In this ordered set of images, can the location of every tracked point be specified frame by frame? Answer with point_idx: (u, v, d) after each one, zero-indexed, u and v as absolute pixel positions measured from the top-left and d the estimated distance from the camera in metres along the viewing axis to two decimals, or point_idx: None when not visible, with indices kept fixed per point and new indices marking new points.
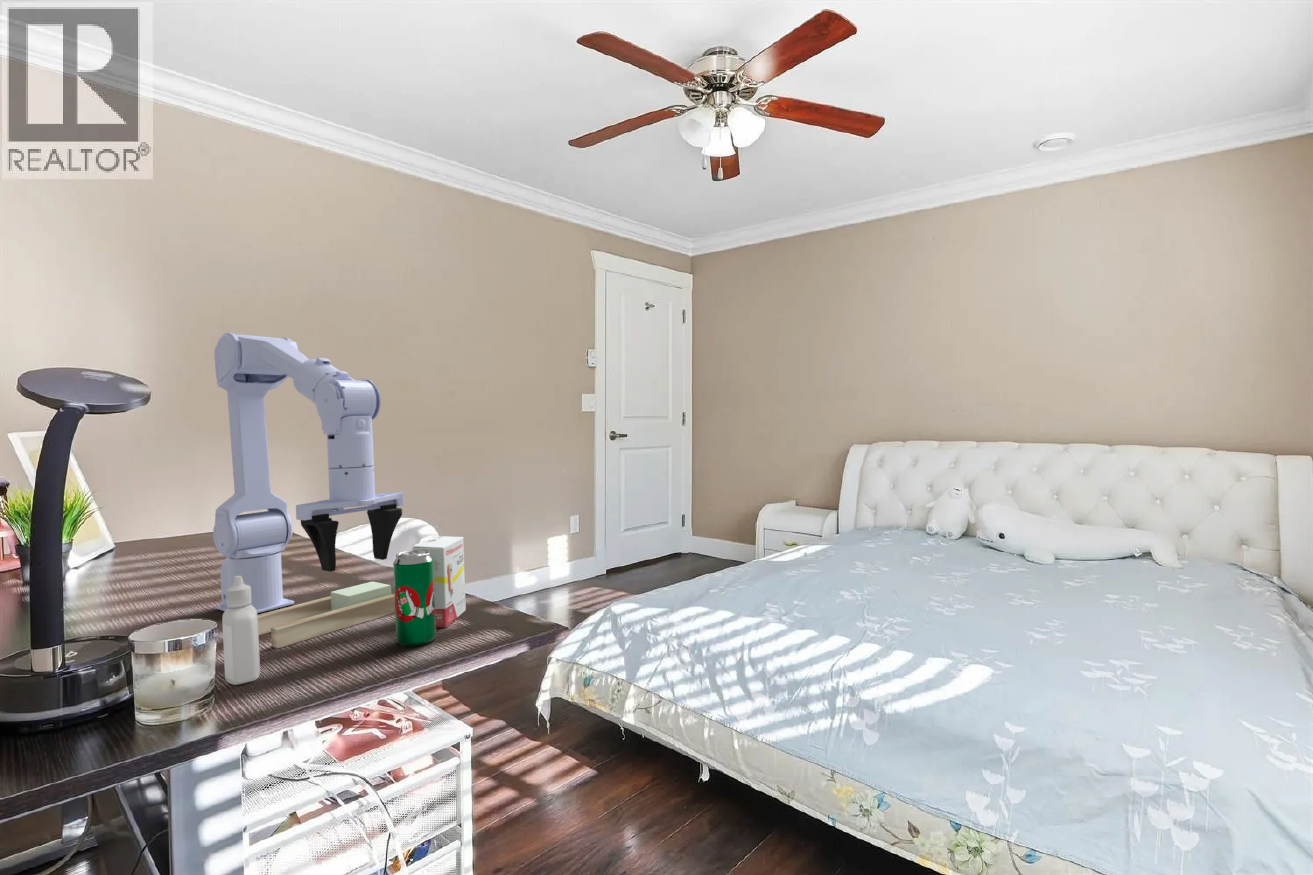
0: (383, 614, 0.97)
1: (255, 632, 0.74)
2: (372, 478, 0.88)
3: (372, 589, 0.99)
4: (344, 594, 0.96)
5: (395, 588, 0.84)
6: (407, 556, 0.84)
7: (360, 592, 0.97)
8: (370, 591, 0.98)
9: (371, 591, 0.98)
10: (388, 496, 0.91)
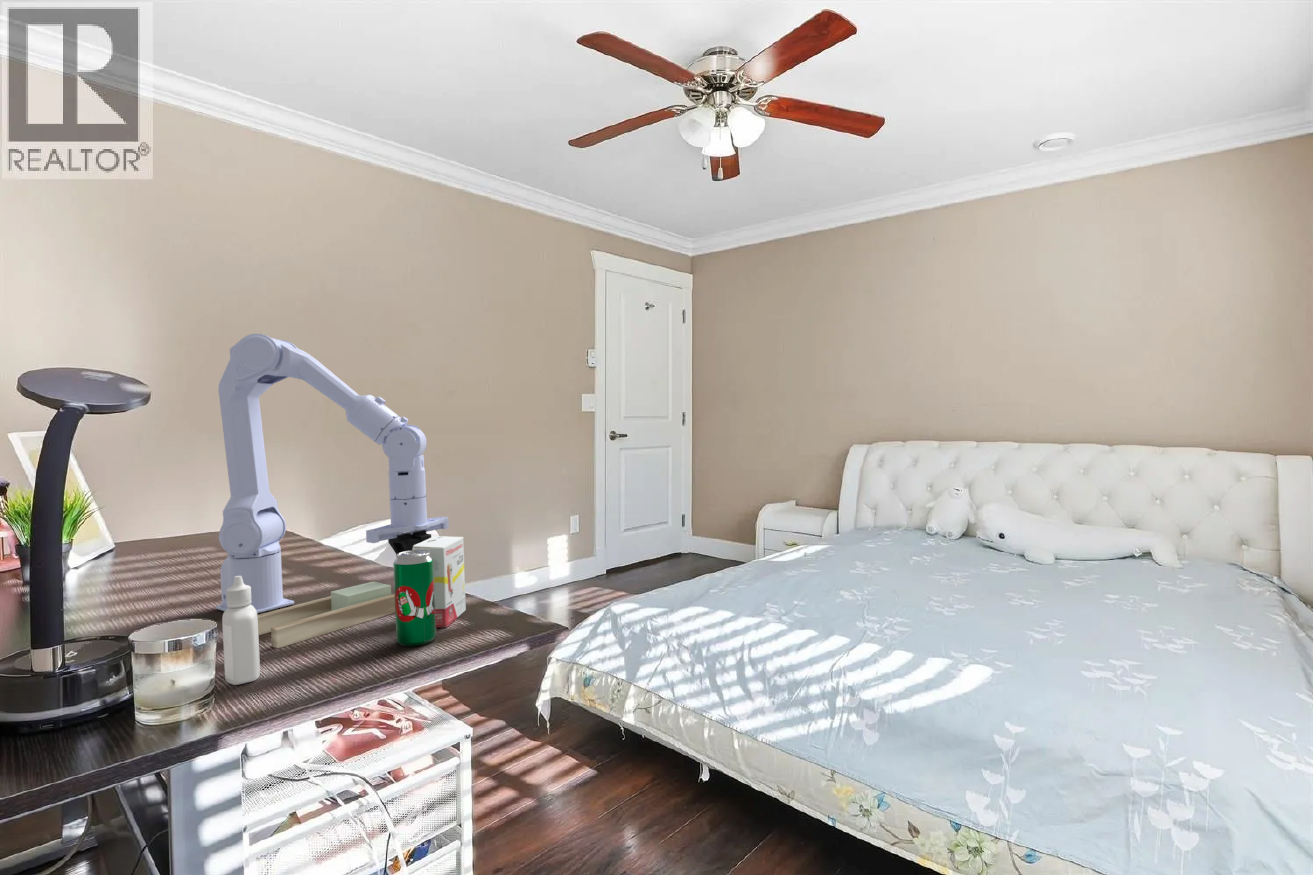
0: (383, 614, 0.97)
1: (255, 632, 0.74)
2: (425, 506, 1.07)
3: (372, 589, 0.99)
4: (343, 594, 0.96)
5: (395, 588, 0.84)
6: (407, 556, 0.84)
7: (359, 592, 0.97)
8: (369, 591, 0.98)
9: (370, 591, 0.98)
10: (437, 521, 1.09)
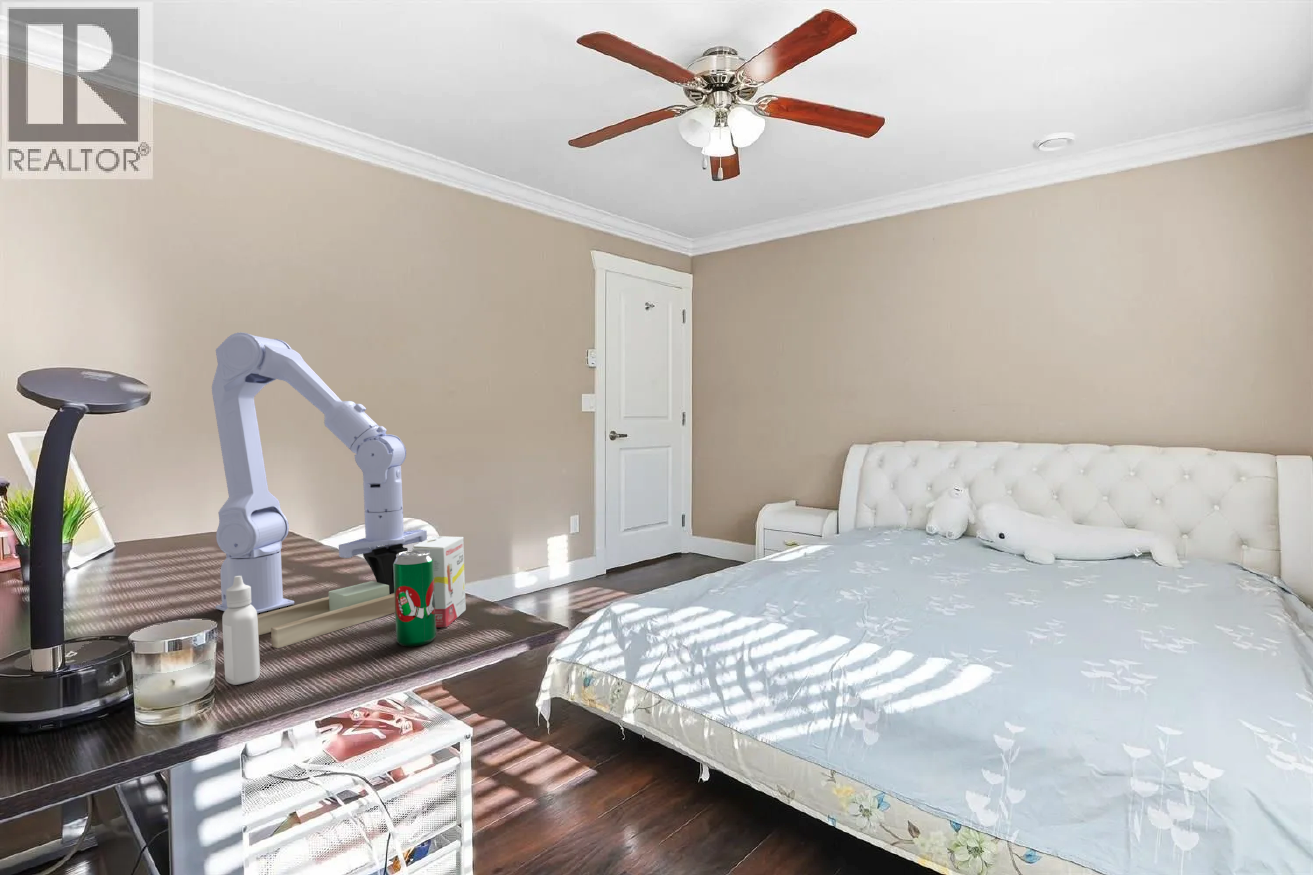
0: (383, 614, 0.97)
1: (255, 632, 0.74)
2: (402, 519, 1.03)
3: (369, 589, 0.98)
4: (341, 594, 0.96)
5: (395, 588, 0.84)
6: (407, 556, 0.84)
7: (357, 592, 0.97)
8: (367, 591, 0.98)
9: (368, 591, 0.98)
10: (414, 534, 1.06)
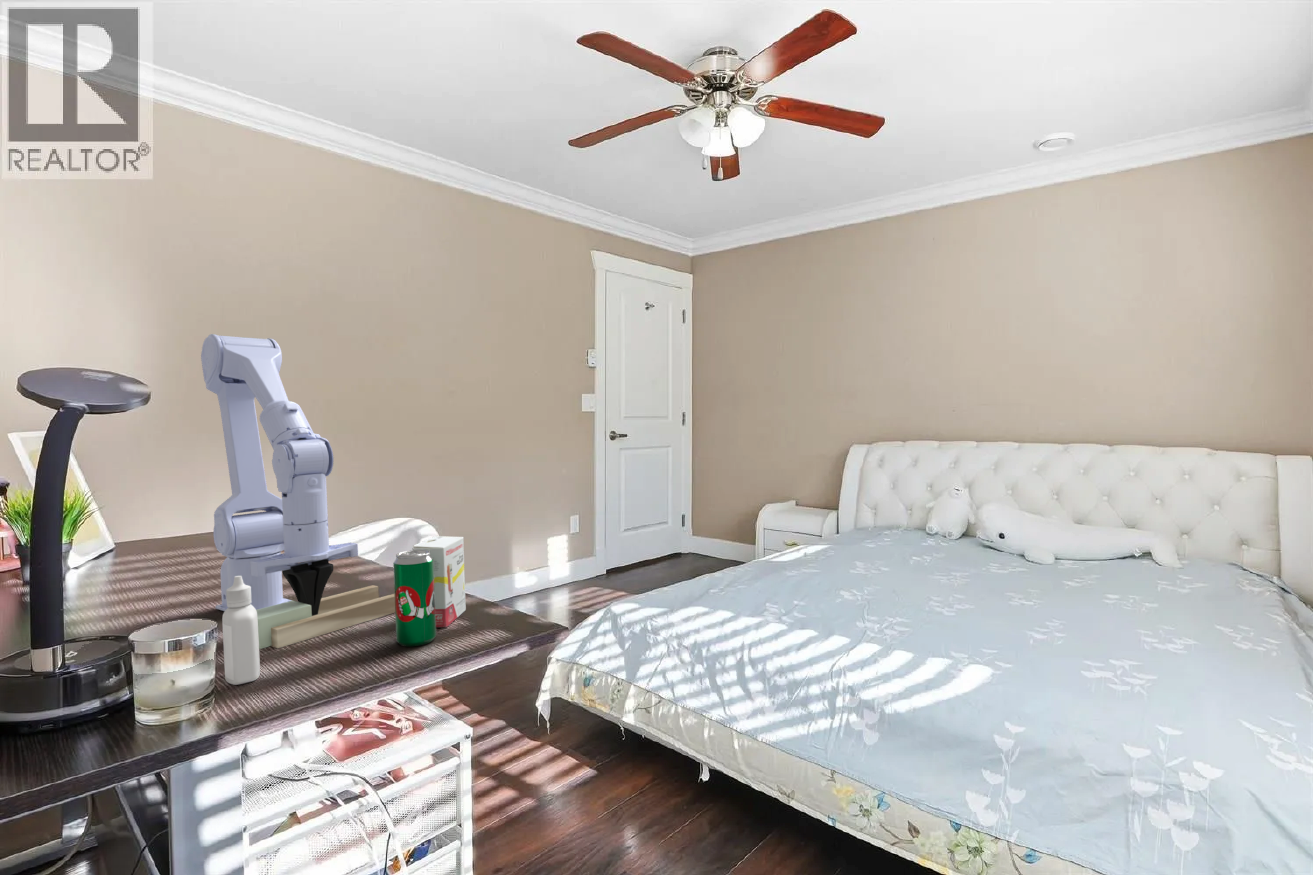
0: (383, 614, 0.97)
1: (255, 632, 0.74)
2: (326, 532, 0.92)
3: (288, 610, 0.88)
4: None
5: (395, 588, 0.84)
6: (407, 556, 0.84)
7: (273, 614, 0.86)
8: (285, 613, 0.87)
9: (286, 612, 0.87)
10: (342, 548, 0.95)
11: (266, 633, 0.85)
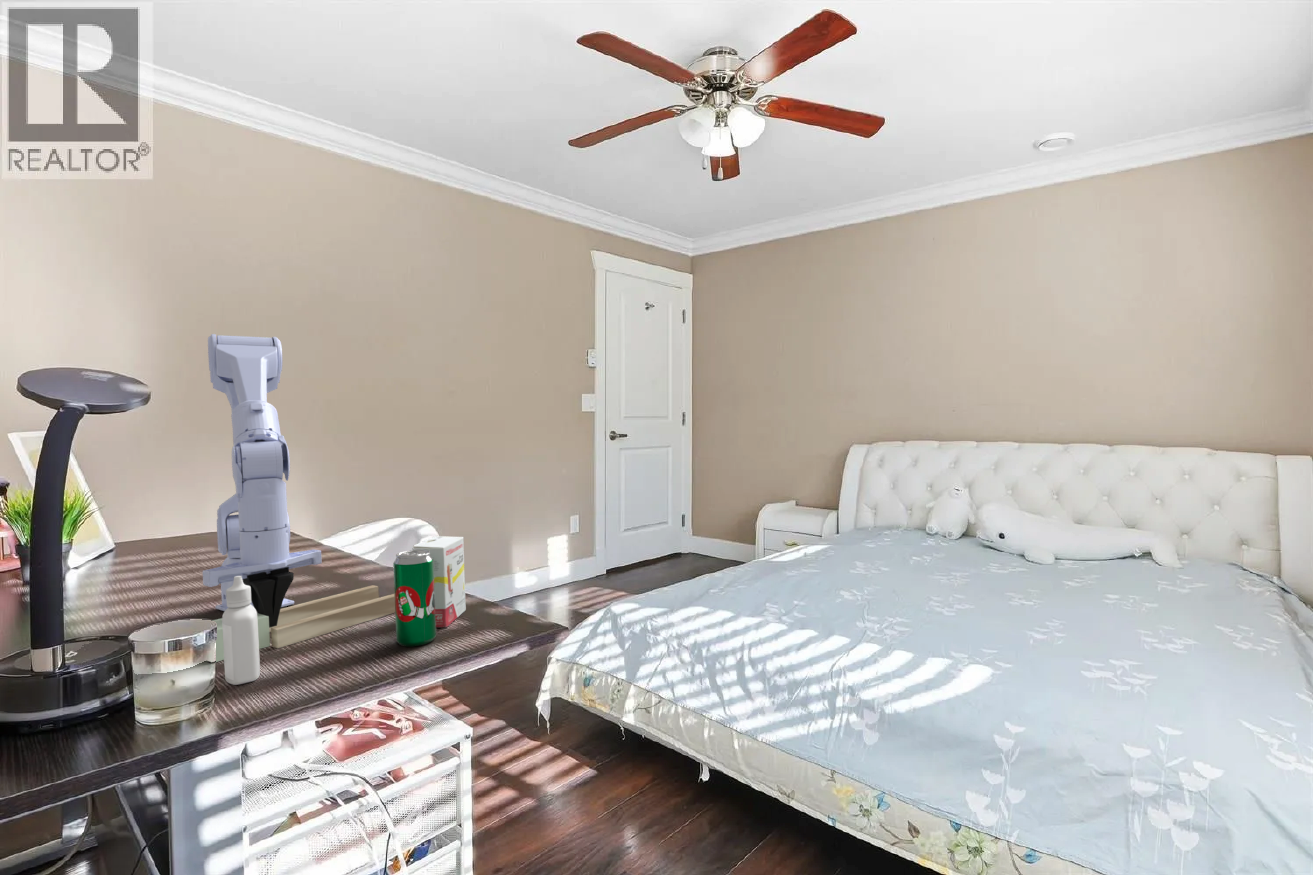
0: (383, 614, 0.97)
1: (255, 632, 0.74)
2: (285, 539, 0.88)
3: None
4: None
5: (395, 588, 0.84)
6: (407, 556, 0.84)
7: None
8: None
9: None
10: (304, 556, 0.90)
11: (218, 647, 0.80)
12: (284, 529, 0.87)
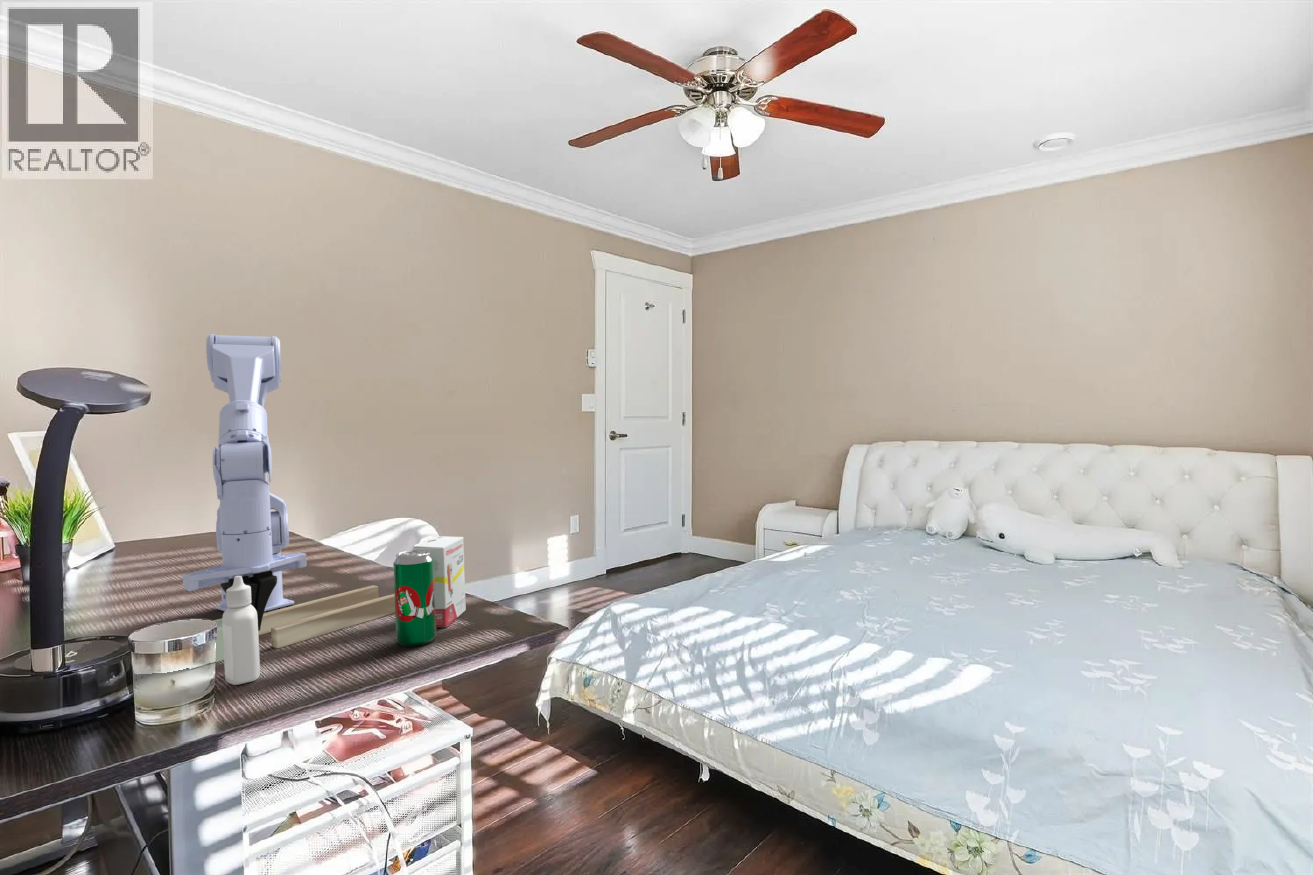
0: (383, 614, 0.97)
1: (255, 632, 0.74)
2: (268, 542, 0.86)
3: None
4: None
5: (395, 588, 0.84)
6: (407, 556, 0.84)
7: None
8: (220, 630, 0.81)
9: (222, 630, 0.81)
10: (288, 559, 0.89)
11: None
12: (267, 532, 0.86)
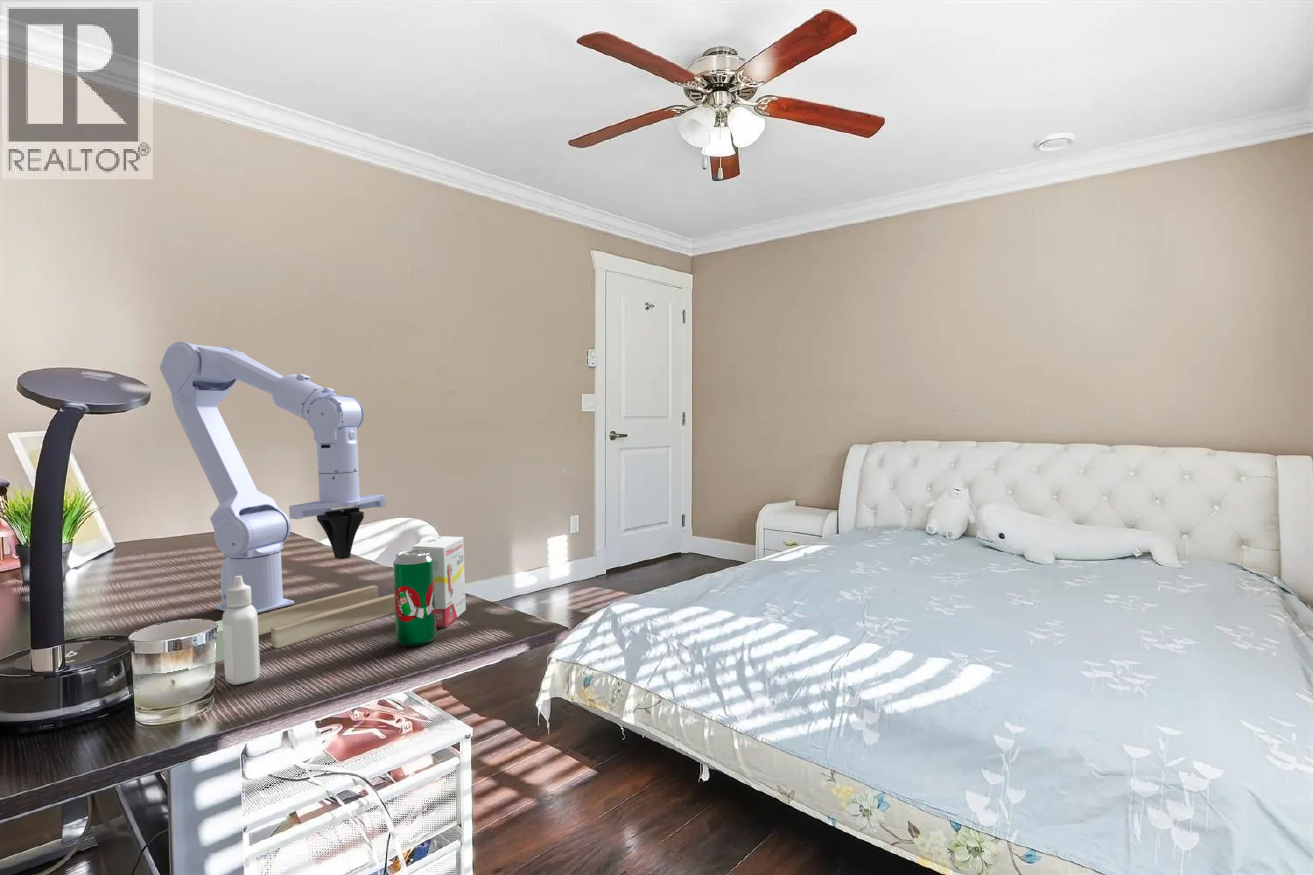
0: (383, 614, 0.97)
1: (255, 632, 0.74)
2: (357, 482, 1.00)
3: None
4: None
5: (395, 588, 0.84)
6: (407, 556, 0.84)
7: None
8: (220, 631, 0.81)
9: (221, 631, 0.81)
10: (371, 498, 1.03)
11: None
12: (356, 473, 1.00)
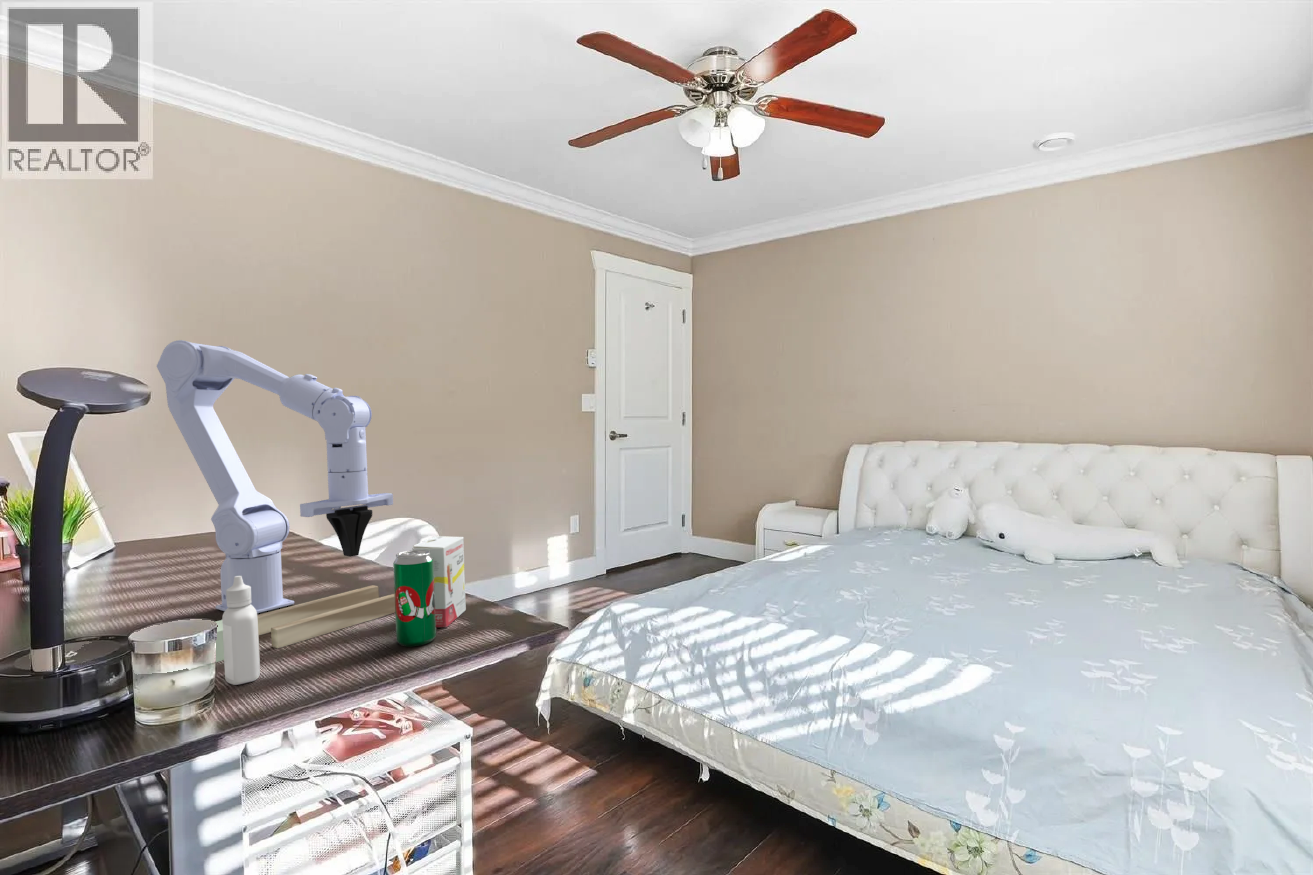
0: (383, 614, 0.97)
1: (255, 632, 0.74)
2: (366, 481, 1.02)
3: None
4: None
5: (395, 588, 0.84)
6: (407, 556, 0.84)
7: None
8: (220, 632, 0.81)
9: (221, 632, 0.81)
10: (379, 496, 1.05)
11: None
12: (365, 472, 1.02)
